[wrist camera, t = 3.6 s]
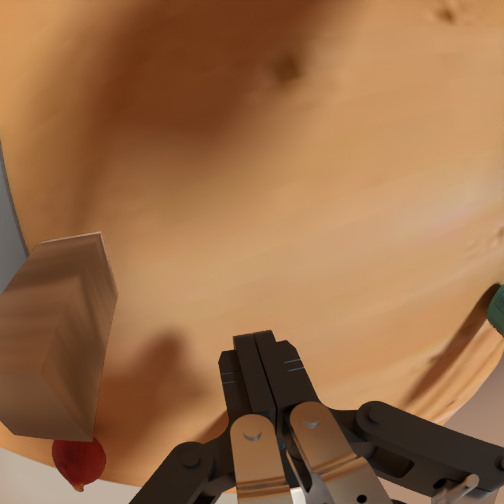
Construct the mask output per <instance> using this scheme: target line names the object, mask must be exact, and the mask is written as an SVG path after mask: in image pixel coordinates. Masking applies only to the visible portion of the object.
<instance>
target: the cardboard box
mask: <svg viewBox="0 0 504 504" xmlns="http://www.w3.org/2000/svg"><path fill="white" fill-rule="evenodd" d="M117 297H118V290H117V286H116V283H115V280H114V276H113V273H112V270H111V266H110V263H109V259H108V255H107V252H106V248H105V244H104V240H103V236H102V232H101V231H99V232H93V233H86V234H80V235H75V236H69V237H63V238H57V239H52V240H46V241H41V242H39V244H38V245H37V246H36V247H35V249H34V250H33V251H32V253H31V254H30V255H29V256H28V258H27V259H26V260H25V262H24V263H23V264H22V266H21V267H20V268H19V270H18V271H17V273H16V274H15V275H14V277H13V278H12V280H11V281H10V282H9V284H8V285H7V287H6V288H5V290H4V291H3V293H2V294H1V296H0V421H1V422H2V423H3V424H4V425H5V426H6V427H7V428H8V429H9V430H10V431H11V432H12V433H13V434H14V435H20V436H27V437H35V438H44V439H54V440H67V441H85V442H93V436H94V426H95V418H96V410H97V402H98V395H99V388H100V382H101V376H102V370H103V364H104V358H105V353H106V348H107V343H108V338H109V333H110V328H111V323H112V319H113V314H114V310H115V306H116V301H117Z"/></svg>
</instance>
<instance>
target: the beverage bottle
mask: <svg viewBox="0 0 504 504" xmlns="http://www.w3.org/2000/svg"><path fill="white" fill-rule="evenodd" d="M486 317H487V319H488V321H489V322H490V324H492V325H493V326H492V327H493V328H496V330H497V332H498V333H500V335H502V336H503V338H504V284H503V285H502V286H501V287H500V288H499V290H498V291H497V292H496V294H495V295H494V297H493V299H492V300H491V302H490V304H489V307H488V309H487V313H486Z"/></svg>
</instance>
